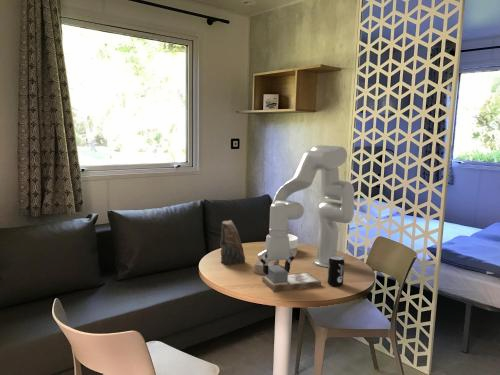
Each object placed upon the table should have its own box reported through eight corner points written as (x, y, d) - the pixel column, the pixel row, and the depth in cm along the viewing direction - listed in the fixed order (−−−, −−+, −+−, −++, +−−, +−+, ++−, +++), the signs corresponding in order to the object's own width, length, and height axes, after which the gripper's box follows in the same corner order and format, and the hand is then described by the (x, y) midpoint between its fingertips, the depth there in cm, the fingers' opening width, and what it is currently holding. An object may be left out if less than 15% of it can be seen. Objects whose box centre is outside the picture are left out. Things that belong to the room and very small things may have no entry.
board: (307, 276, 177) (307, 271, 177) (321, 286, 166) (321, 281, 166) (262, 281, 169) (262, 276, 169) (273, 291, 158) (273, 286, 158)
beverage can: (333, 288, 165) (335, 260, 163) (324, 282, 170) (325, 255, 169) (346, 286, 167) (347, 259, 166) (336, 280, 173) (338, 254, 172)
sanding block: (277, 276, 170) (278, 265, 170) (287, 283, 162) (287, 271, 161) (265, 277, 168) (265, 266, 167) (274, 285, 160) (274, 273, 159)
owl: (224, 266, 187) (225, 225, 185) (211, 259, 198) (212, 220, 195) (246, 262, 194) (247, 223, 192) (233, 255, 205) (234, 218, 202)
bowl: (281, 245, 228) (282, 231, 227) (303, 253, 215) (304, 238, 213) (259, 250, 217) (260, 235, 216) (281, 258, 204) (281, 242, 203)
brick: (270, 276, 177) (271, 266, 176) (252, 273, 180) (253, 263, 179) (279, 265, 193) (280, 256, 192) (263, 263, 195) (263, 254, 195)
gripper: (292, 229, 169) (290, 268, 171) (255, 232, 163) (254, 271, 165) (301, 233, 162) (299, 273, 164) (262, 236, 156) (260, 277, 158)
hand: (276, 272), depth 165 cm, fingers open, 9 cm apart
